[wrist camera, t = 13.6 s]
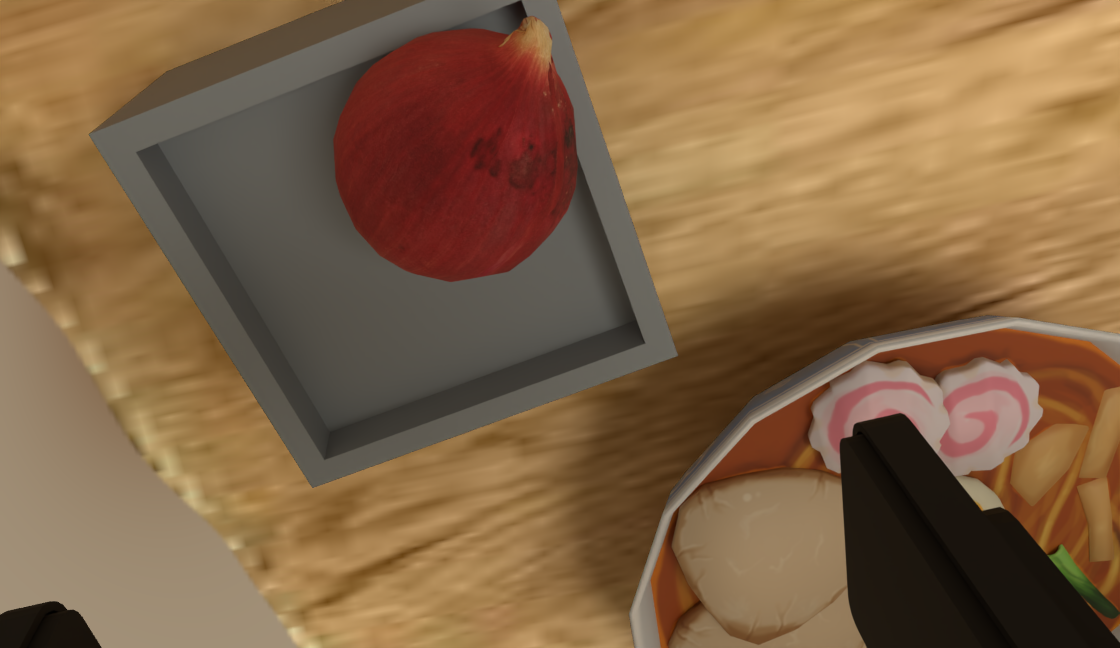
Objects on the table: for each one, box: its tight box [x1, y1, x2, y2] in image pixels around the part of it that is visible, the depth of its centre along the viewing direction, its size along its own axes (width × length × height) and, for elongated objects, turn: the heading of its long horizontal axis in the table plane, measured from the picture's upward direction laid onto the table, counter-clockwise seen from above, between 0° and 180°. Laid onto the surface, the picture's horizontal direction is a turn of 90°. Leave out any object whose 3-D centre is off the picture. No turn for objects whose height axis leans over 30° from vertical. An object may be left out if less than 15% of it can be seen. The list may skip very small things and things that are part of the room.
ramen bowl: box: [629, 315, 1120, 648], centre depth 36 cm, size 25×23×8 cm
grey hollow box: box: [89, 0, 678, 488], centre depth 28 cm, size 12×12×8 cm
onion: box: [333, 16, 578, 282], centre depth 22 cm, size 6×6×8 cm
